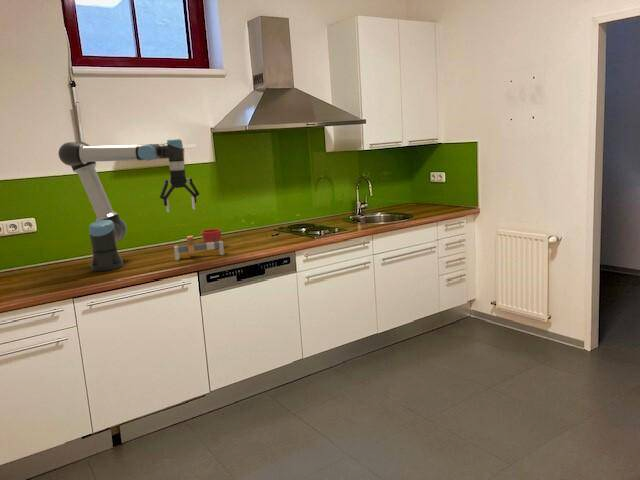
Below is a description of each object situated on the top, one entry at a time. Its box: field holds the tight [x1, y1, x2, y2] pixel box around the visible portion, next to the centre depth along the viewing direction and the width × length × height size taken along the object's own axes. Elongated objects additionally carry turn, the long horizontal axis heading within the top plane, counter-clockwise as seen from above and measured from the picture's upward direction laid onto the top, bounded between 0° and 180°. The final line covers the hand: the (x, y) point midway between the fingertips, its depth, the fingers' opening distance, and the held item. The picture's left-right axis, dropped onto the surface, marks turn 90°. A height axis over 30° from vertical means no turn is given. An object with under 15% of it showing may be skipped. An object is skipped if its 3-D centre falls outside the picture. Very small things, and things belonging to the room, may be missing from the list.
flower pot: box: [201, 228, 222, 243], centre depth 302 cm, size 11×11×10 cm
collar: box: [186, 234, 196, 257], centre depth 279 cm, size 3×7×10 cm, turn 15°
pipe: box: [173, 240, 225, 261], centre depth 281 cm, size 25×6×7 cm, turn 104°
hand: (181, 210), depth 278 cm, fingers open, 13 cm apart
